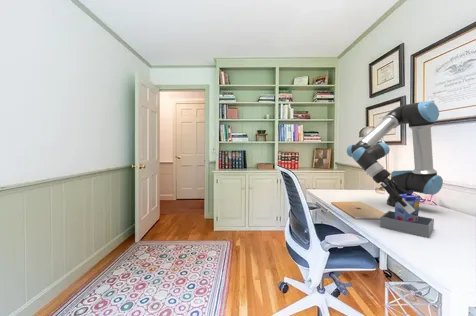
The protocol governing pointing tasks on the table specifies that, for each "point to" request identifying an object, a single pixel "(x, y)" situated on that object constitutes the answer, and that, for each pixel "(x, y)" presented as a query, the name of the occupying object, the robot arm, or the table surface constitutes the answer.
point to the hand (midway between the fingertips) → (414, 210)
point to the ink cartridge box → (402, 213)
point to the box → (408, 225)
